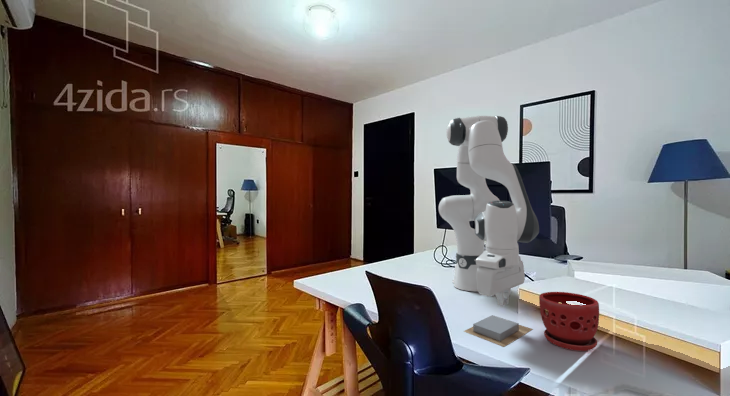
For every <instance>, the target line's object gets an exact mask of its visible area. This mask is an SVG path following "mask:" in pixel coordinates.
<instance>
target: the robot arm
mask: <svg viewBox="0 0 730 396" xmlns="http://www.w3.org/2000/svg"><path fill="white" fill-rule="evenodd" d="M446 127H447V128H446V138H447V140H448V143H449V144H450V145H452V146H456V147H458V148H457V155H456V180H457V183H458V184H460V185H461V186H463V187H465V188H467V189H469V190H470V191H469V192H470V194H465V195H464V194H463V195H460V194H458V195H457V194H456V195H449V196H445V197H442V198H441V200H440V201H439V204H438V213H439V216H440V217H441V218H442V220H444V221H445V222H447V223H448V224H449V225H450V226H451V228H452V230H453V231H454V234H455V240H456V251H457V252H456V254H455V258H456V259H455V261H456V262H457V263H455V265H454V275H453V279H452V284H453V286H454V287H455V288H456V289H459V290H462V291H467V292H478V293H479V294H480V295H482V296H484V297H485V296H486V297H493V296H495V297H496V299H497V305H498V306H500V307H503V306H506V305H508V304H509V297H510V294H511V291H512V289H513V288H515V287H518V286H520V285H523V284H524V283H525V280H526V279H525V278H526V277H525V268H524V262H523V260H522V259H521V256H520V252H519V251H520V250H519V243H527V244H528V243H530V242H532V241H533V240H534V239H536V238H537V236H538V235H539V233H540V224H539V220H538V217H537V215H536V213H535V211H534V210H533V207H532V204H531V203H530V200H529V196H528V194H527V191H526V187H525V185H524V182H523V179H522V175H521V174H520V171H519V168H518V167H517V165H516V164H514V163H512V162H510V160H508V158H507V157H506V155H505V153H504V147H503V142H504V141H505V140H506V139H507V136H508V133H509V132H508V131H509V124H508V121H507V119H506V118H505V117H504V116H502V115H501V116H500V115H493V116H491V115H476V116H467V117H462V118H461V117H457V118H456V117H455V118H453V119H451V120H450V121H449V122H448V125H447V126H446ZM486 179H488V180H491V181H495V182H497V183H500V184H502V185H503V186H504V187H505V188H506V189H507V191H508V193H509V197H510V199H511V201H508V200H500V198H498V196H496V195H494V194H493V192H492V191H491V190H490V189H489V187H488V185H487V181H486ZM473 221H474V228H473V227H471V224H470V222H473Z"/></svg>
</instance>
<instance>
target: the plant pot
mask: <svg viewBox="0 0 730 396" xmlns="http://www.w3.org/2000/svg"><path fill="white" fill-rule="evenodd" d="M538 296H539V297H538V298H539V300H538V301H539V313H540V316H541V320H542V323H543V325H544V328H545V330H544V331H543V334H544V337H545V339H546V340H547V341H548V342H550V343H551V344H553V345H554V346H557V347H560V348H562V349H565V350H570V351H576V352H586V351H591V350H594V349H595V348H596V347H597V346H598V340H597V338H596V337H595V335H596V333H597V331H598V328H599V320H600V303H599V301H598V300H597V299H595V298H594V297H591V296H587V295H584V294H579V293H573V292H567V291H566V292H565V291H547V292H543V293H541V294H539V295H538ZM566 301H577V302H580V303H583V304H586V305H582V304H580V305H571V304H570V305H569V304H567V303H566ZM546 310H547V313H548V314H546Z"/></svg>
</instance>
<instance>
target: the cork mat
mask: <svg viewBox="0 0 730 396" xmlns="http://www.w3.org/2000/svg"><path fill="white" fill-rule="evenodd" d="M532 330H534V329H533V328H531V327H527V326H524V325H522V324H519V331H517V332H515V333H514V334H512V335H510V336H508V337H507V338H505V339H503V340H502V341H498V340H496V339H493V338H490V337H488V336H485V335H482V334H480V333H477V332H474V331H473V326H471V327H469V328H467V329H465V330H463V332H464V333H466V334H469V335H472V336H474V337H477V338H480V339H482V340H484V341H487V342H489V343H491V344H495V345H498V346H500V347H502V348H505V347H506V346H508V345H510V344H511V343H513V342H515V341H516V340H519V338H521V337H523V336H525V335H526V334H528V333H529V332H531V331H532Z"/></svg>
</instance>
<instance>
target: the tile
mask: <svg viewBox="0 0 730 396" xmlns="http://www.w3.org/2000/svg"><path fill="white" fill-rule="evenodd" d="M519 325H520V323H519V322H517V321H516V322H515V321H512V320H510V319H506V318H503V317H501V316H496V315H490V316H487V317H486V318H483V319H481V320H478V321H477V322H475V323H473V324H472V327H473V331H474V332H477V333H480V334H482V335H485V336H488V337H490V338H493V339H496V340H498V341H502V340H503V339H505V338H507V337H508V336H510V335H512V334H514V333H515V332H517V331H519Z"/></svg>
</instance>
